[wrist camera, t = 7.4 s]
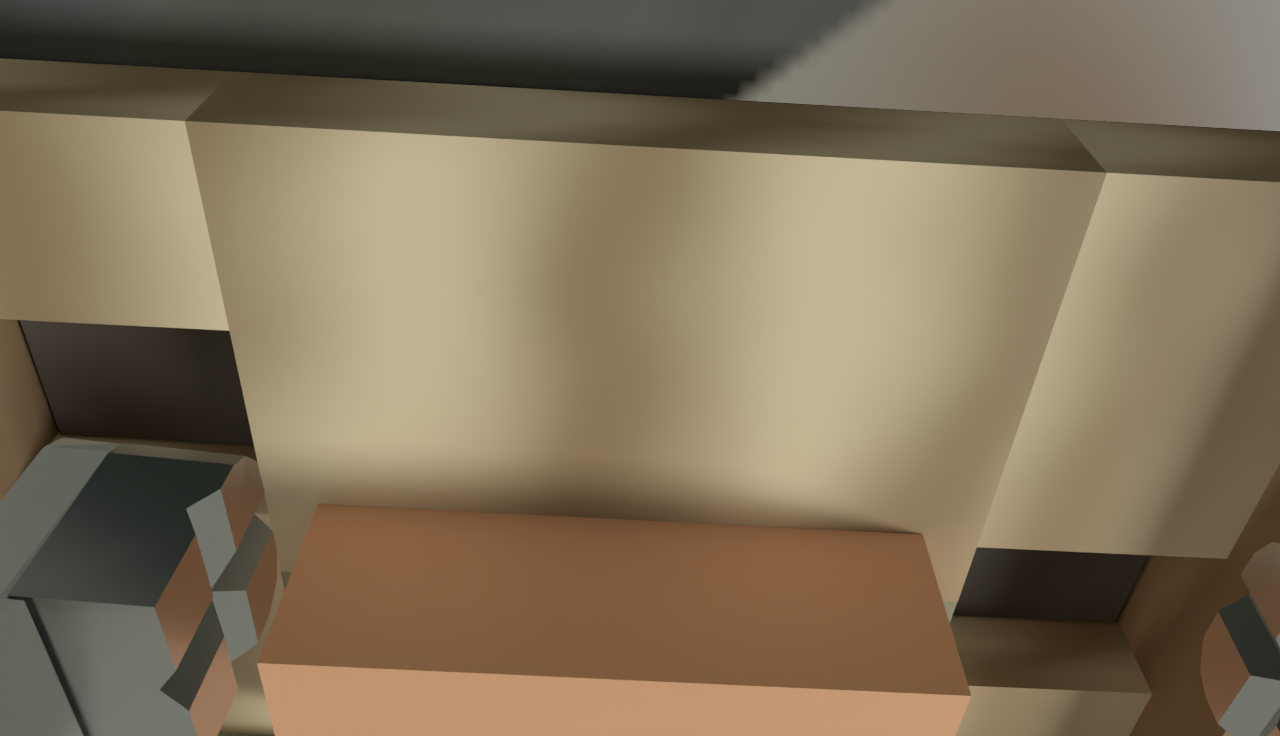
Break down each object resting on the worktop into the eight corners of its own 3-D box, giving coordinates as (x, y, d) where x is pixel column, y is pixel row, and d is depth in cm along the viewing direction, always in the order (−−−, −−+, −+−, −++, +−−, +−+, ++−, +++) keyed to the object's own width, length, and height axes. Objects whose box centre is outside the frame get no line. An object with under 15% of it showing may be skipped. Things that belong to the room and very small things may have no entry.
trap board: (1402, 138, 16) (1588, 263, 13) (1102, 715, 25) (1170, 877, 22) (-128, 50, 16) (-333, 158, 12) (111, 673, 24) (27, 833, 21)
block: (922, 534, 19) (971, 695, 16) (861, 731, 22) (892, 892, 19) (318, 503, 18) (256, 662, 16) (352, 708, 22) (308, 869, 19)
